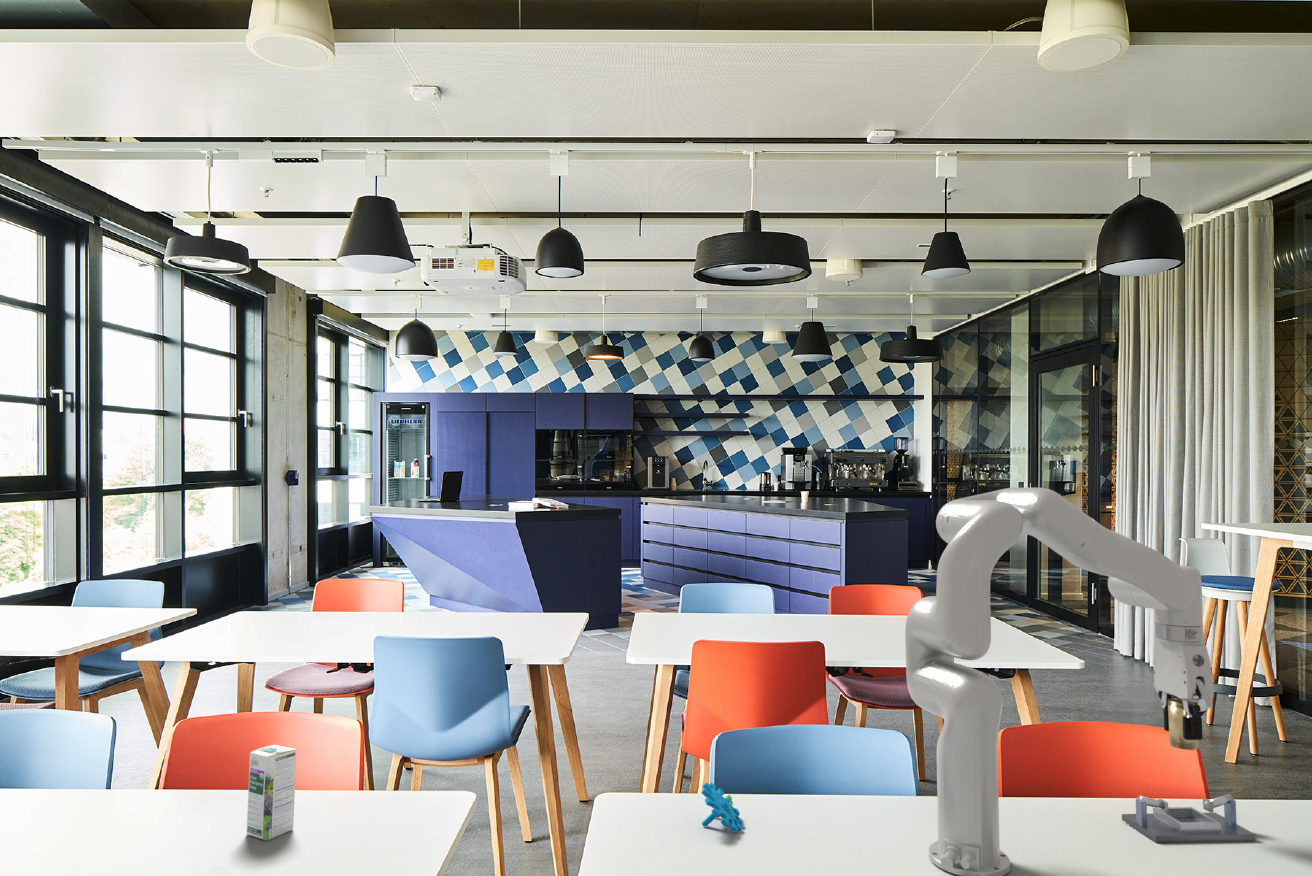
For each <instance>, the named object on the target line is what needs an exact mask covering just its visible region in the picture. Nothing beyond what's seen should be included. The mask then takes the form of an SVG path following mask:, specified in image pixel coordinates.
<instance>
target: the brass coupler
mask: <svg viewBox="0 0 1312 876" xmlns="http://www.w3.org/2000/svg"><path fill="white" fill-rule="evenodd" d="M1194 705H1195V703H1190V706H1191V708H1192V707H1193V706H1194ZM1183 716H1185V712H1184V706H1183V701H1182V699H1181V698H1170V699H1168V718H1169V731H1168V739H1169V746H1171V747H1174V748H1175V749H1180V750H1187V751H1190V750H1191V751H1196V750H1198V749H1199V740H1186V739H1184V738H1183Z"/></svg>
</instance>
